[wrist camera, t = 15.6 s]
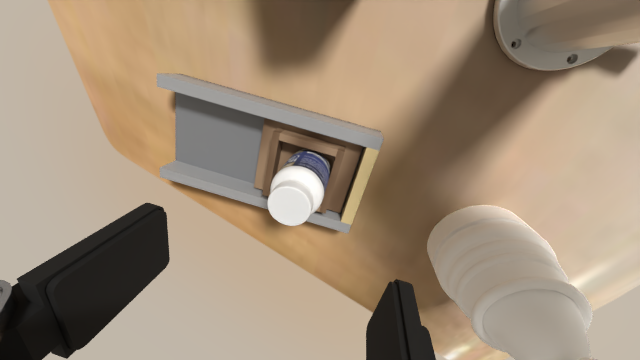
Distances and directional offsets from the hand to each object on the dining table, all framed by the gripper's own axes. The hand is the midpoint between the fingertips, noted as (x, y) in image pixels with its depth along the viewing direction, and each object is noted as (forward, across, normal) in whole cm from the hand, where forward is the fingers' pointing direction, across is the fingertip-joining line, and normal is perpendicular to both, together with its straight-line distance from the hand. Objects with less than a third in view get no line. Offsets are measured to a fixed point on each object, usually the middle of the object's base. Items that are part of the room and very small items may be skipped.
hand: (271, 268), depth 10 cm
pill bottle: (+20, +2, +4) cm, 21 cm away
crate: (+22, +3, +4) cm, 22 cm away
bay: (+23, +8, +4) cm, 24 cm away
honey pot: (+24, -23, +10) cm, 34 cm away
